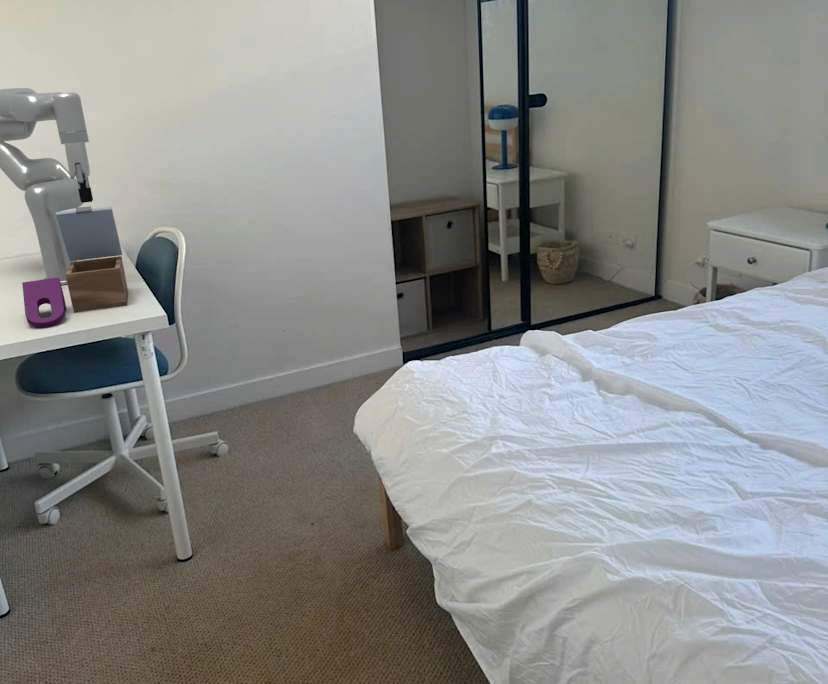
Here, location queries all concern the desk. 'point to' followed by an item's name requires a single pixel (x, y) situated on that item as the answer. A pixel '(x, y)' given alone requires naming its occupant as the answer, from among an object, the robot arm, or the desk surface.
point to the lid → (89, 233)
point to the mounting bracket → (44, 301)
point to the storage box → (97, 284)
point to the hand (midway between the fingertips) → (87, 201)
